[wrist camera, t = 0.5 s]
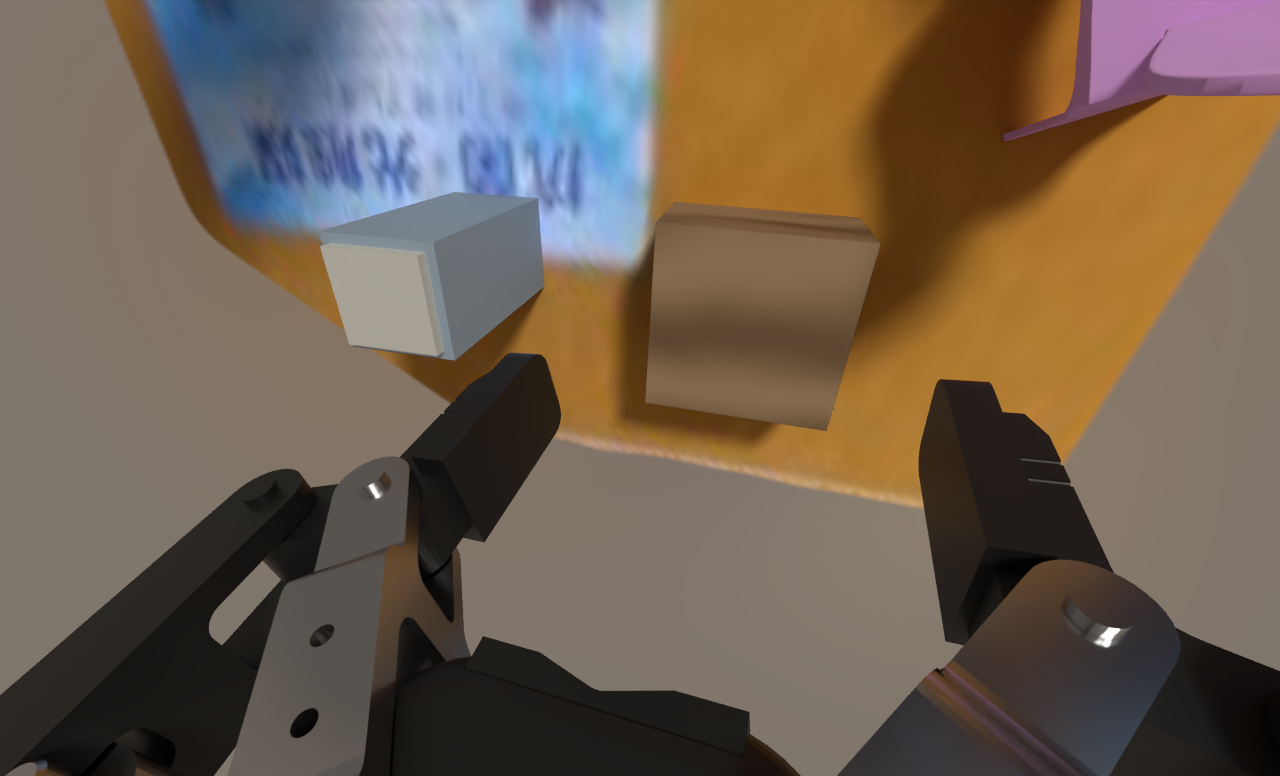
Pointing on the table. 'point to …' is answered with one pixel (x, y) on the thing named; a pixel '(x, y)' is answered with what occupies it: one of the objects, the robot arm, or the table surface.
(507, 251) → the slate-blue canister
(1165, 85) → the toy chair
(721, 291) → the walnut block
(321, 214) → the table surface
